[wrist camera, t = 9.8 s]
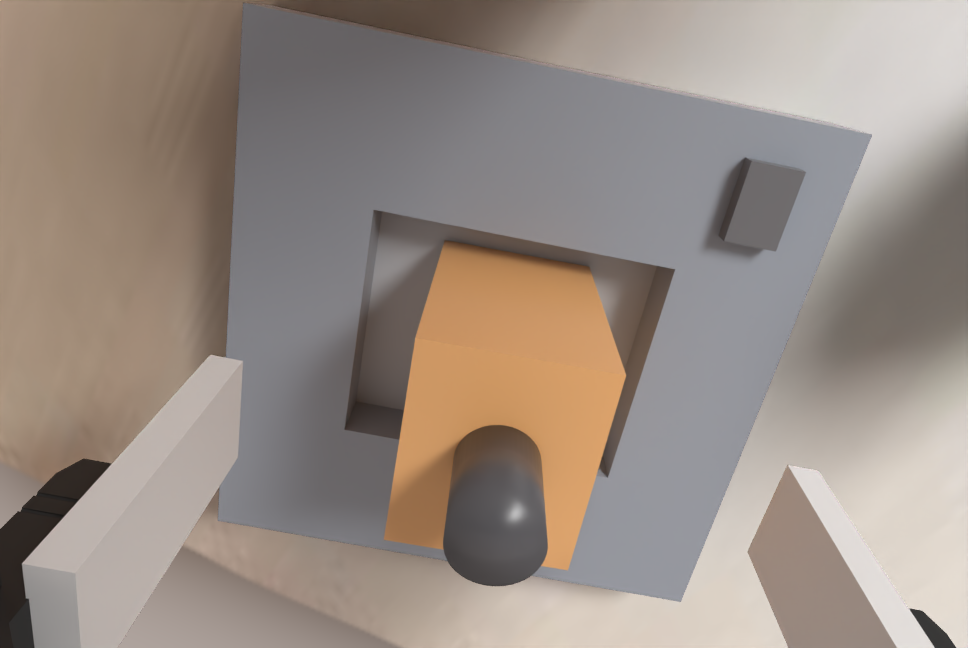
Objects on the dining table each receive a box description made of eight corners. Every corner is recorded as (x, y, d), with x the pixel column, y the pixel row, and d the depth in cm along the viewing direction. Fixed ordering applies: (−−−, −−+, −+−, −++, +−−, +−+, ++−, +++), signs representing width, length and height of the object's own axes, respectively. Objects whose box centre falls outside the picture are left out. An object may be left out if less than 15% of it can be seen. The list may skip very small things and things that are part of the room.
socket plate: (272, 5, 21) (235, 2, 18) (834, 123, 22) (882, 137, 19) (241, 480, 28) (211, 531, 25) (667, 556, 29) (684, 613, 26)
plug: (444, 239, 23) (395, 402, 13) (589, 266, 23) (650, 447, 13) (419, 393, 26) (361, 630, 15) (551, 415, 26) (578, 665, 16)
